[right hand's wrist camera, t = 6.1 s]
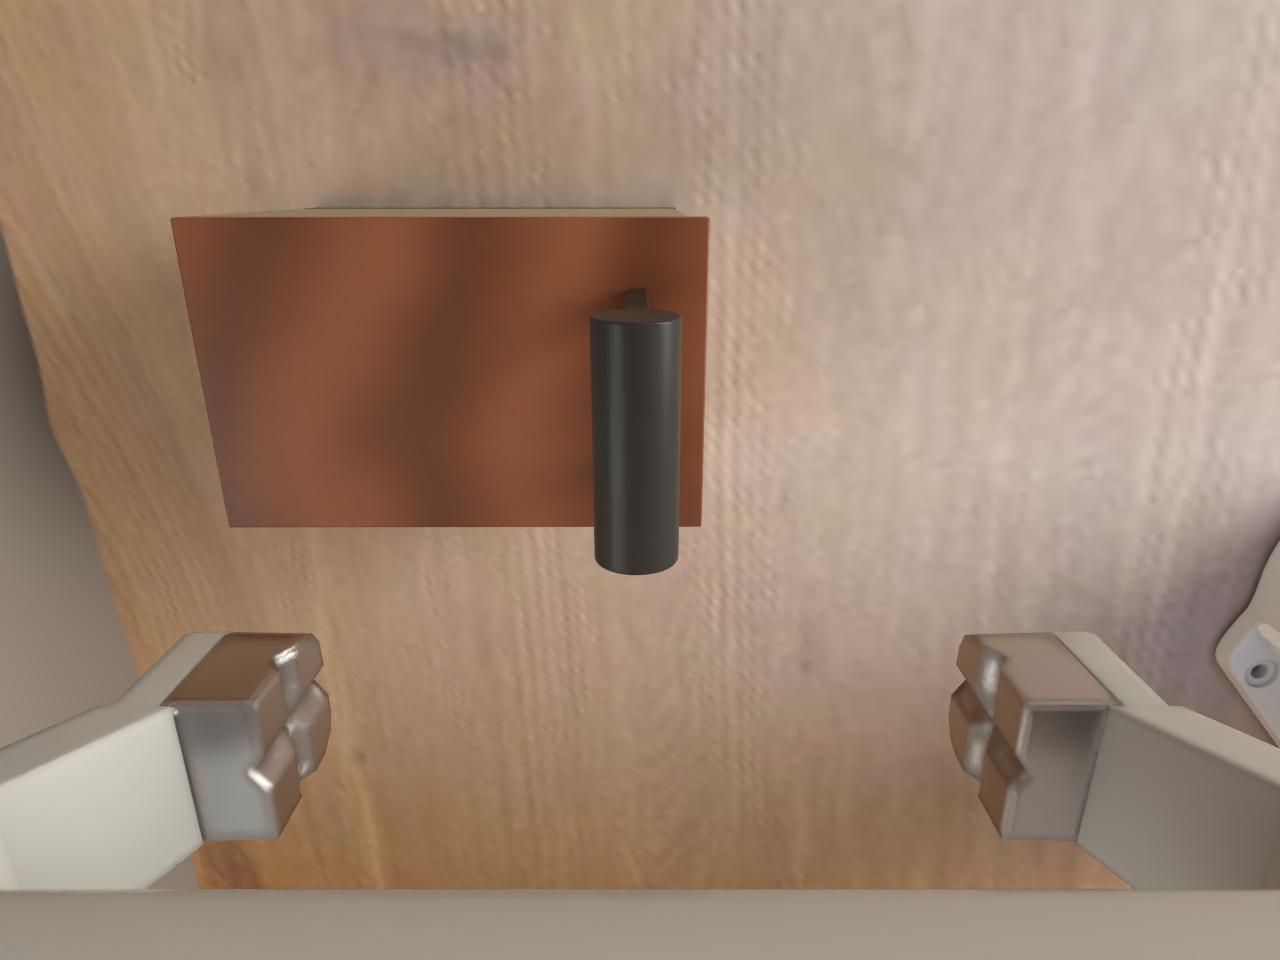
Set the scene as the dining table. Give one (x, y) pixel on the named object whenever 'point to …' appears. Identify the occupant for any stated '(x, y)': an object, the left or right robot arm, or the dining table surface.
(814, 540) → the dining table surface
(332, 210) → the chest
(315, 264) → the lid
